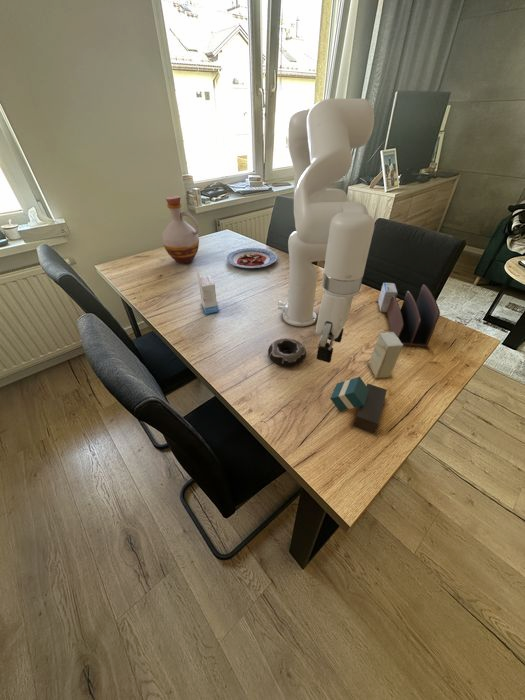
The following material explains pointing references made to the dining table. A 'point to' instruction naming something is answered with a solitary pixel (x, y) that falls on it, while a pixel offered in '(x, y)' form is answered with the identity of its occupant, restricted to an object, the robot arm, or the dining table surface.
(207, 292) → the ink box
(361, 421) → the dark block
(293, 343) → the donut
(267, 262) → the ceramic plate
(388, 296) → the medicine box
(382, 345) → the cosmetic box
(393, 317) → the letter holder
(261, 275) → the dining table surface
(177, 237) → the jug
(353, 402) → the teal carton
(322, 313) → the robot arm
